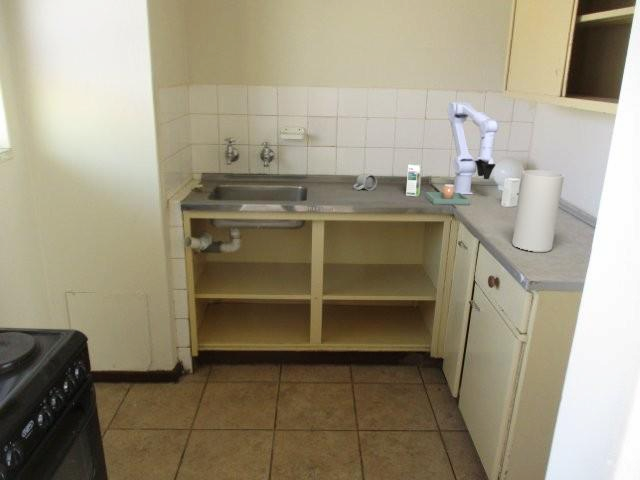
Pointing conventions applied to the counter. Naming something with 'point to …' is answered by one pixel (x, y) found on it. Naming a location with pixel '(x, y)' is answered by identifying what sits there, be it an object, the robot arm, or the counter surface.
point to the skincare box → (510, 192)
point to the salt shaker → (448, 191)
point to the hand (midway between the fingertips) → (483, 177)
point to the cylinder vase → (537, 210)
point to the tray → (437, 199)
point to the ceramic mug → (365, 182)
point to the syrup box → (413, 180)
